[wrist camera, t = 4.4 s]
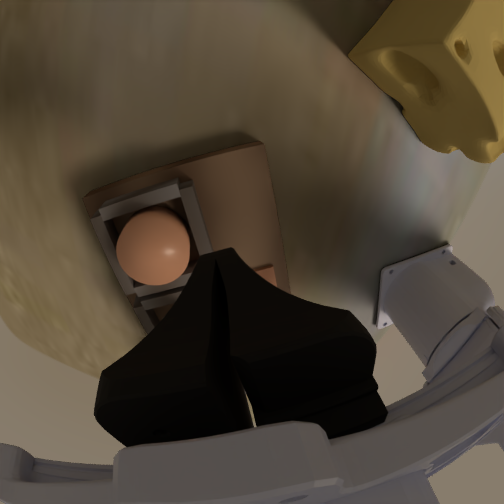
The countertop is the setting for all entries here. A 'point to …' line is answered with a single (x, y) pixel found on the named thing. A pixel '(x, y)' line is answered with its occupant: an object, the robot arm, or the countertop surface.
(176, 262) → the terracotta button
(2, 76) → the countertop surface
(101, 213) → the button panel
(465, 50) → the cheese
